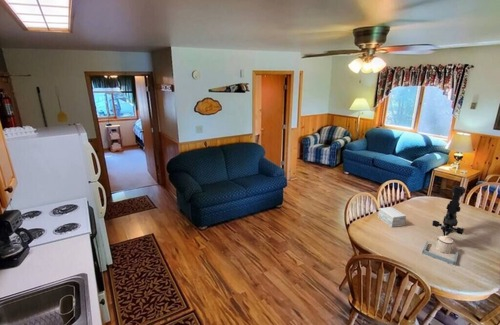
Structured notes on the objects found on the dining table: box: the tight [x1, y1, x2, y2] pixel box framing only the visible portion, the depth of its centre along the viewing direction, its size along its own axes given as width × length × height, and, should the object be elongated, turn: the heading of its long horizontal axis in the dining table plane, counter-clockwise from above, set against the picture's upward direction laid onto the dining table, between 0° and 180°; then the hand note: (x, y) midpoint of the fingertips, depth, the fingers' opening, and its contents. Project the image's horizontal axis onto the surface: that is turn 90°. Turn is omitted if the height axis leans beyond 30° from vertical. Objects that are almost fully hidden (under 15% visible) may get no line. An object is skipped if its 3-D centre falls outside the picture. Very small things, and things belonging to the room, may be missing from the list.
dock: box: [421, 240, 459, 266], centre depth 190 cm, size 15×19×2 cm
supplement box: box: [377, 206, 407, 228], centre depth 231 cm, size 17×13×9 cm
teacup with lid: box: [435, 235, 454, 254], centre depth 194 cm, size 12×9×12 cm
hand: (444, 237), depth 197 cm, fingers closed
